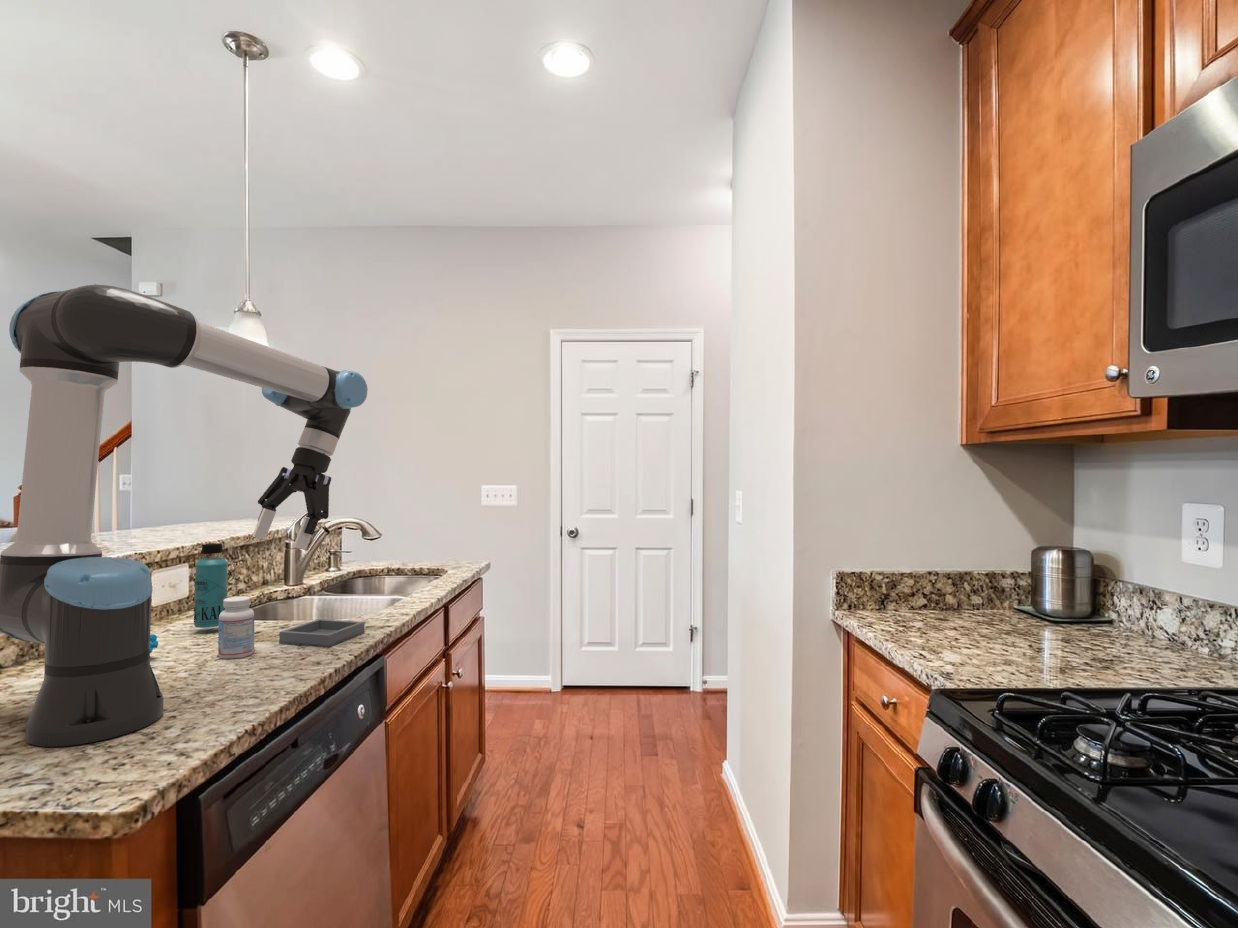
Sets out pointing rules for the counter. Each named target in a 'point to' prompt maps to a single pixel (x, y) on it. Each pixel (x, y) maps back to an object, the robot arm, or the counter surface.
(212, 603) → the beverage bottle
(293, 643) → the tray
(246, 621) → the pill bottle
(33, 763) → the counter surface
